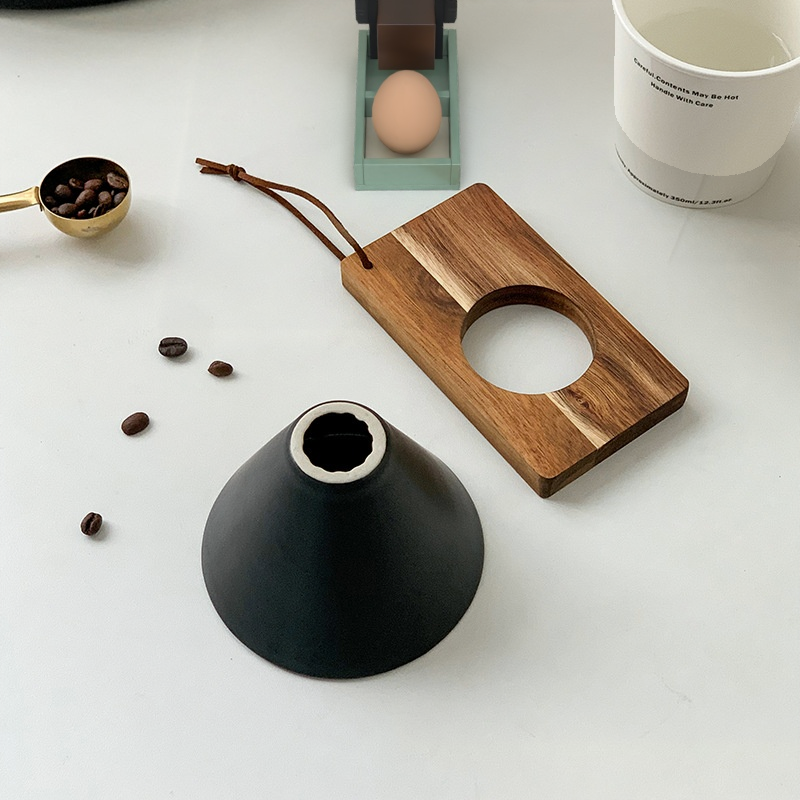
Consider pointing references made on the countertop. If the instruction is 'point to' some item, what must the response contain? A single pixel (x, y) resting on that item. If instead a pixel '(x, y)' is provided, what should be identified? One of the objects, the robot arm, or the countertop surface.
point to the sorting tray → (422, 168)
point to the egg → (406, 112)
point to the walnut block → (406, 34)
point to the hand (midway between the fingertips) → (406, 48)
